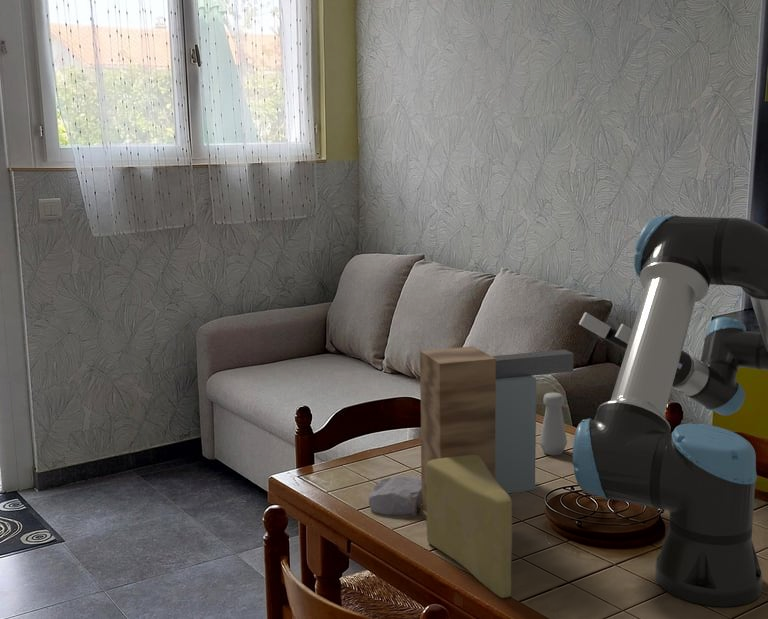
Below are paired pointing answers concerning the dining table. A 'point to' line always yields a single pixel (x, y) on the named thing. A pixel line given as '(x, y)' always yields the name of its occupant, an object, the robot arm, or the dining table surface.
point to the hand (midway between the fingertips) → (600, 323)
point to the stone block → (397, 496)
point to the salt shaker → (553, 425)
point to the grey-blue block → (515, 433)
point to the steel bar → (533, 364)
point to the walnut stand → (456, 407)
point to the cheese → (471, 519)
